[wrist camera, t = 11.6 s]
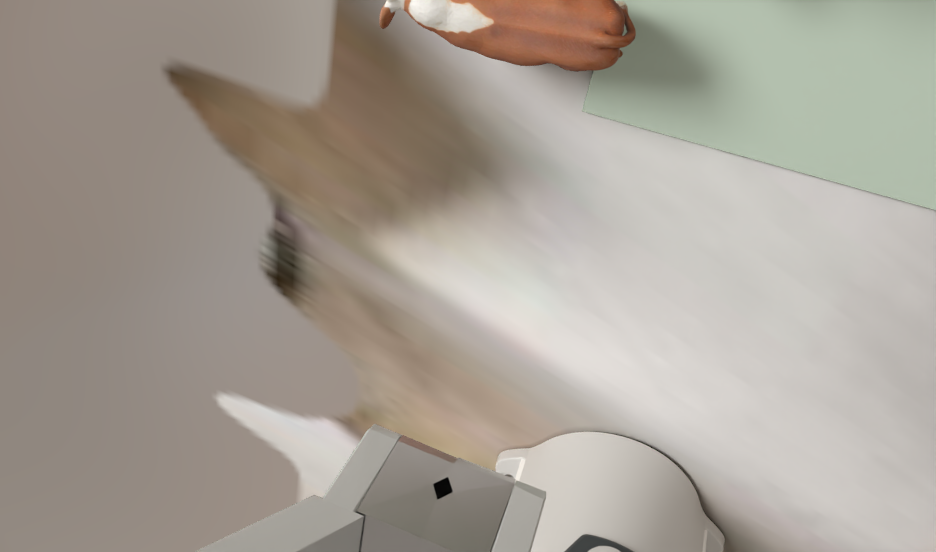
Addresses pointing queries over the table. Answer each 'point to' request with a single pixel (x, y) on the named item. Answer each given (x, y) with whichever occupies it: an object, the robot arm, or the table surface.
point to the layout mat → (787, 85)
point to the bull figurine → (527, 29)
